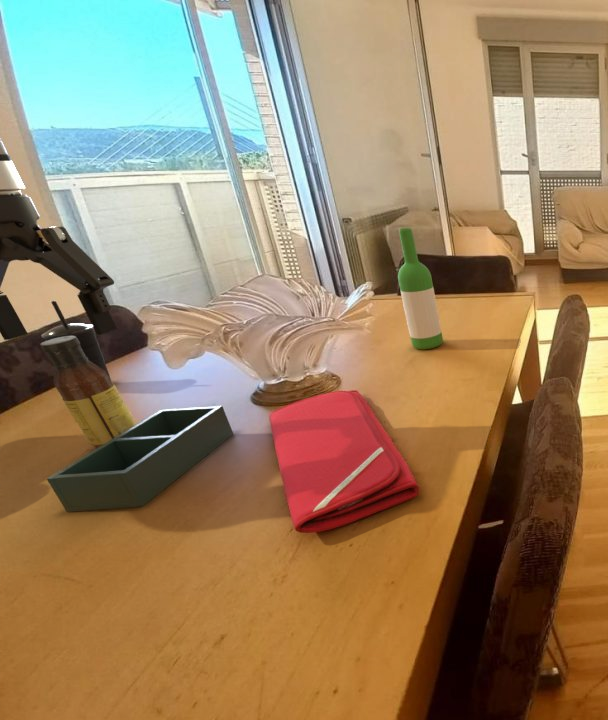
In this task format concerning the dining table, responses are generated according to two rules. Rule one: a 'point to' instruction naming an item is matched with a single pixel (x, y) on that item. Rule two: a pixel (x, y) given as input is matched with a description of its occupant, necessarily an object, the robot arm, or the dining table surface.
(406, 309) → the wine bottle
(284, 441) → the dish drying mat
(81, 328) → the drinking cup
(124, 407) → the sauce bottle
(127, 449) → the dark green divided tray
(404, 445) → the dining table surface
